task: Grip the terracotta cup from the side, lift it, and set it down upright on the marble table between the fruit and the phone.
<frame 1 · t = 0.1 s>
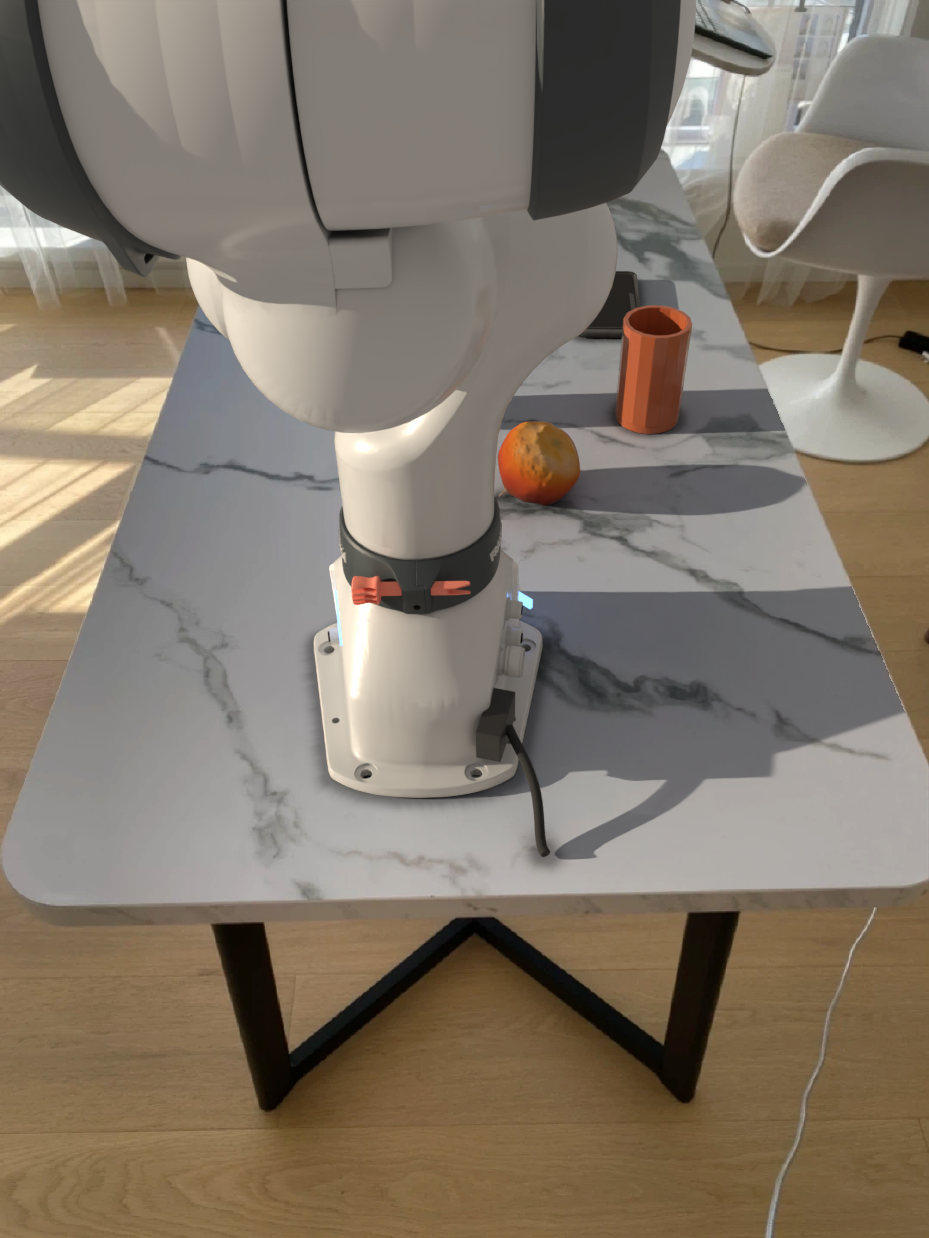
hand: (414, 48, 76), 39 cm above the table, tool pointing down, fingers open, 8 cm apart
phone: (607, 308, 128), on the table
fruit: (538, 494, 102), on the table
cup: (646, 416, 111), on the table
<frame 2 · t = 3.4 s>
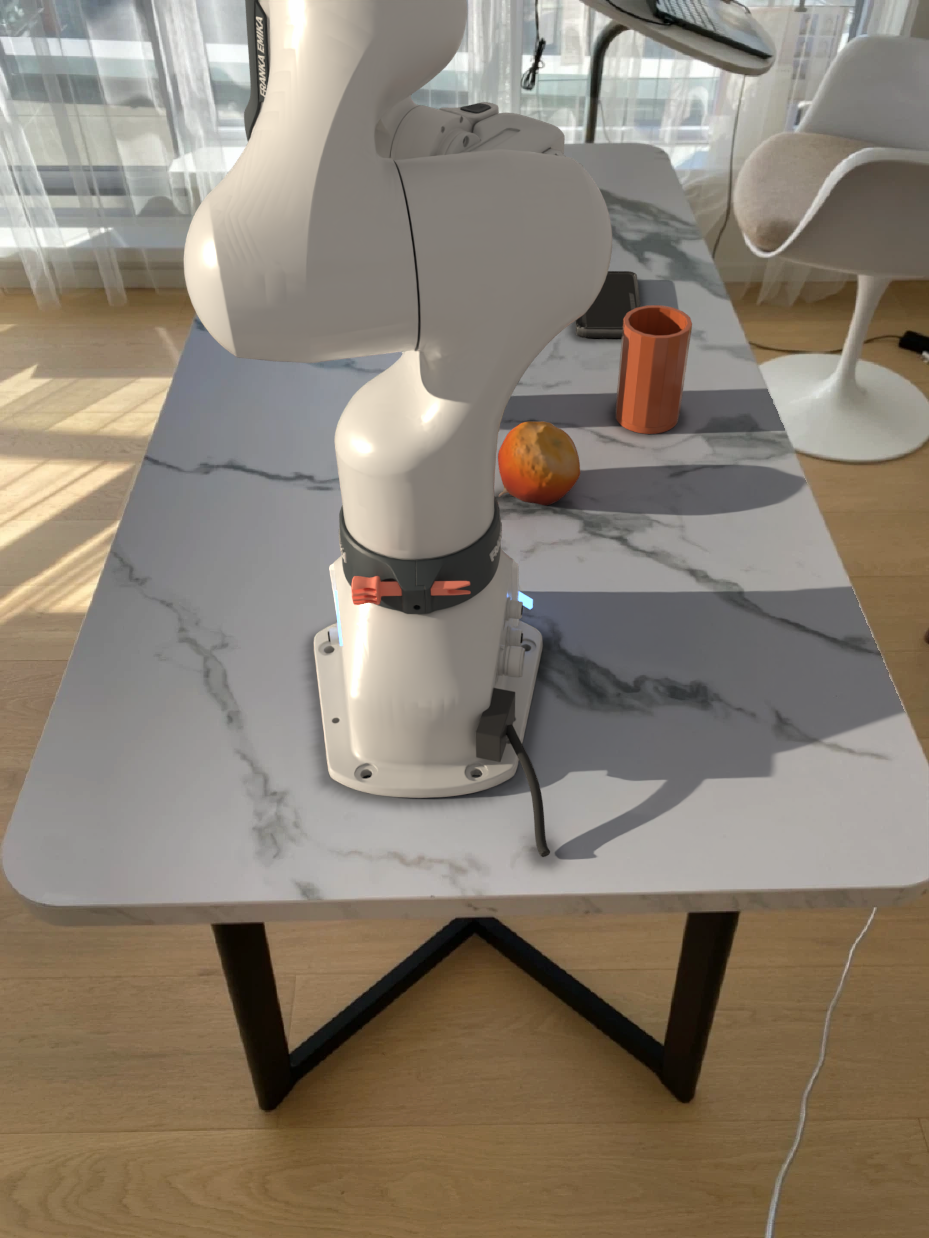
hand: (554, 193, 101), 21 cm above the table, tool horizontal, fingers open, 8 cm apart
nothing on the table moved.
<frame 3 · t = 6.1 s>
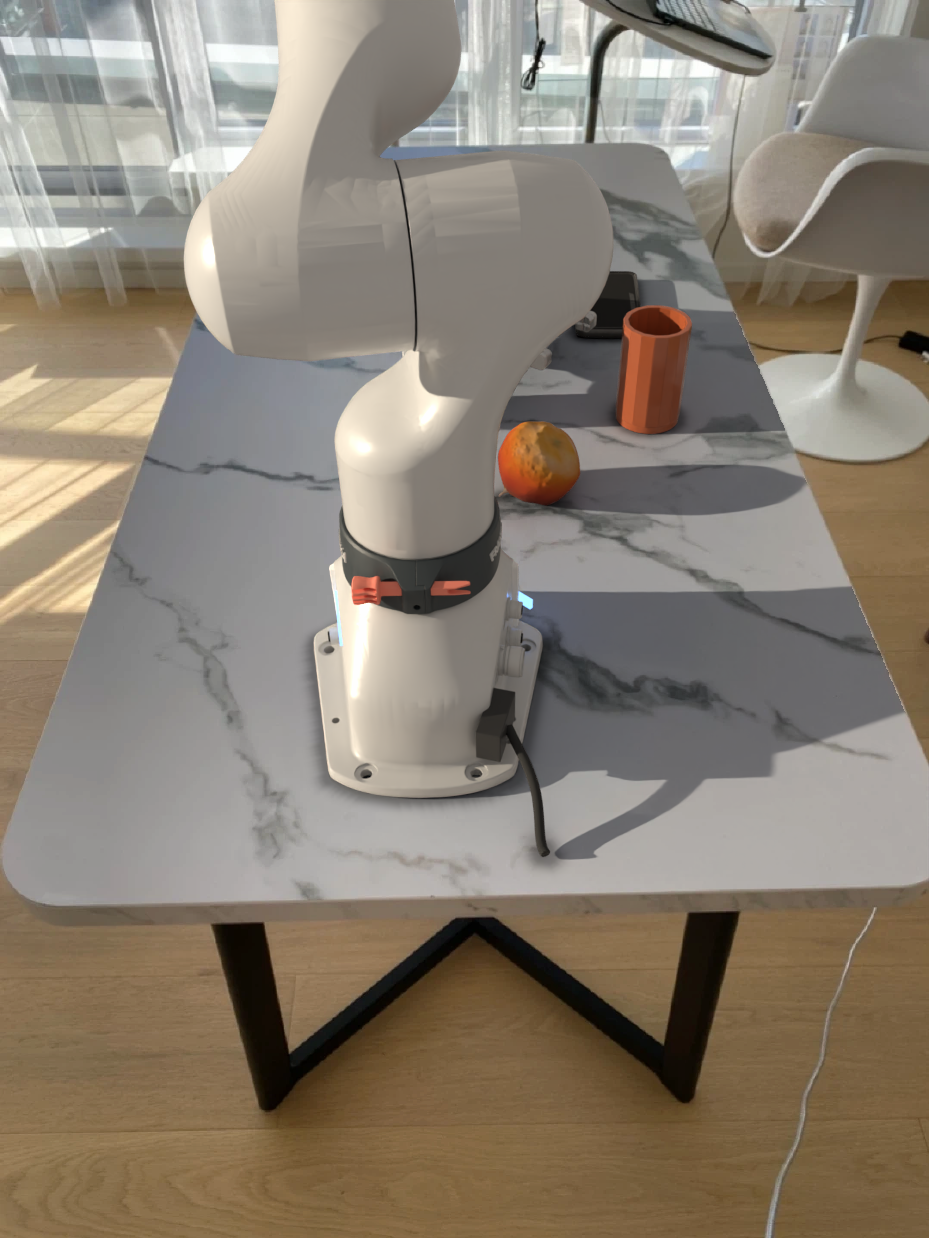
hand: (571, 341, 110), 6 cm above the table, tool horizontal, fingers open, 8 cm apart
nothing on the table moved.
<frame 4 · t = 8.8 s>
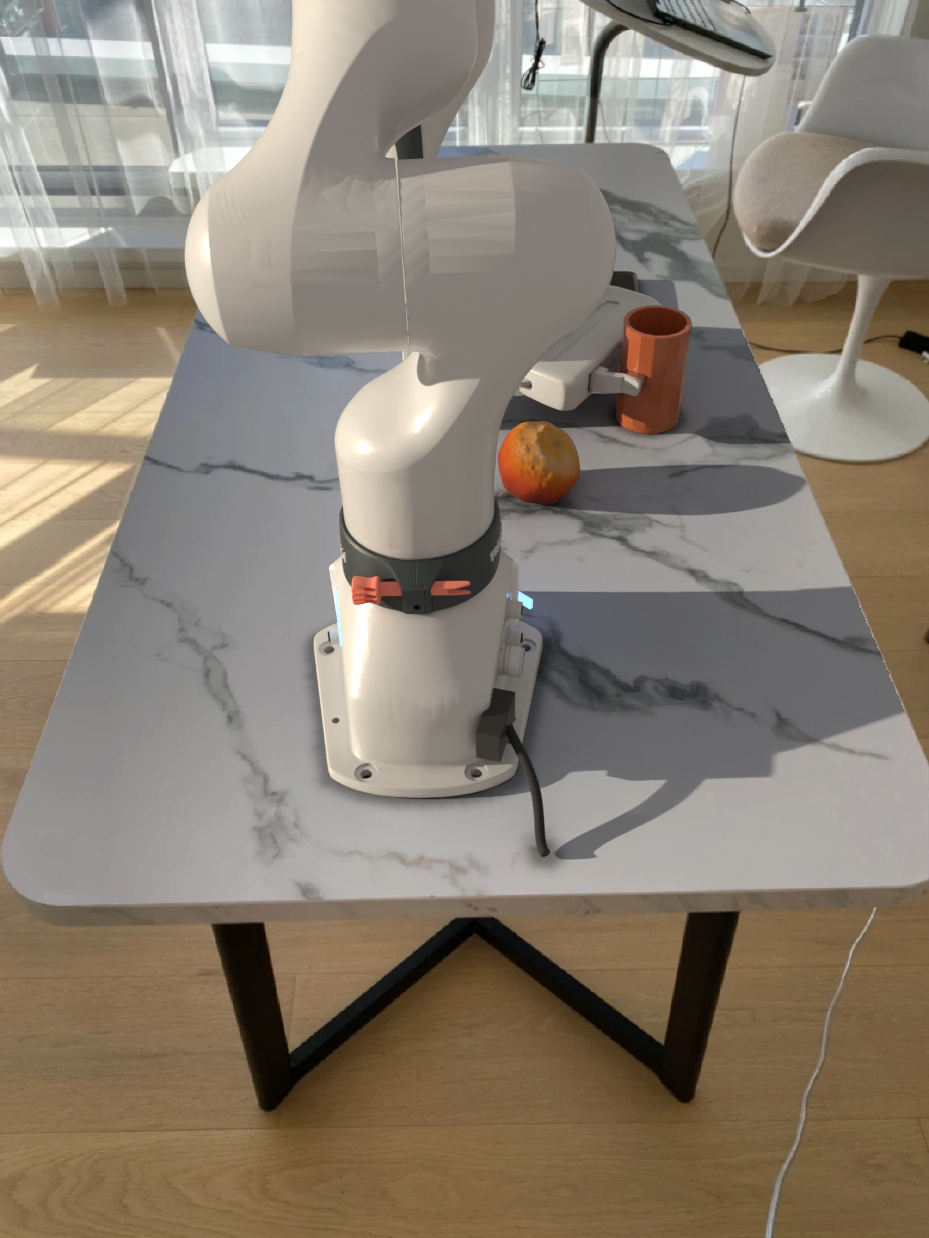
hand: (660, 368, 106), 6 cm above the table, tool horizontal, fingers closed on cup, 7 cm apart
cup: (646, 416, 111), on the table, touching gripper
everything else where it was.
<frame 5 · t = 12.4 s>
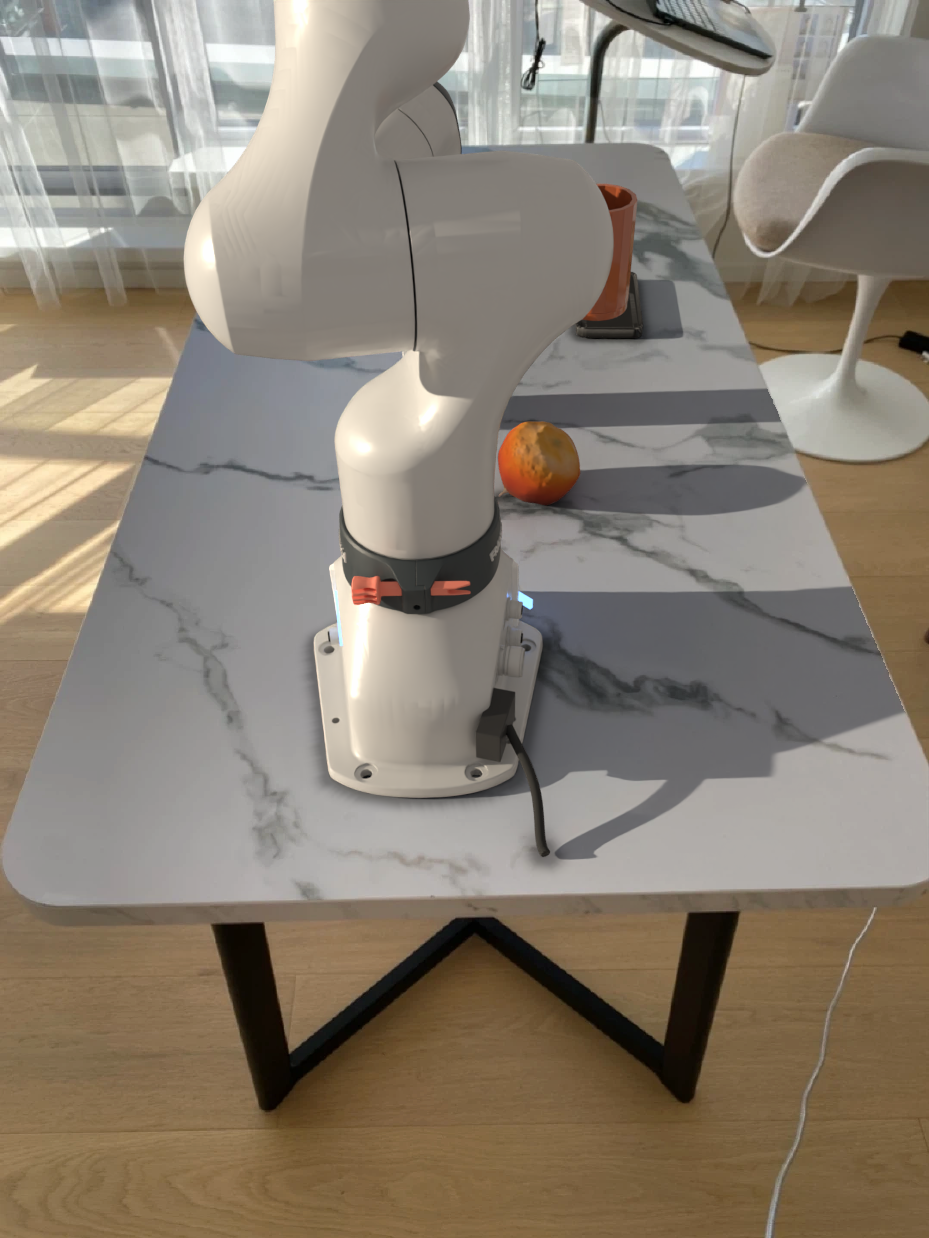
hand: (606, 250, 102), 17 cm above the table, tool horizontal, fingers closed on cup, 7 cm apart
cup: (594, 305, 107), point 11 cm above the table, touching gripper
everything else where it was.
when the fingers open (6 cm above the table, at t = 16.0 s): cup stays where it is, on the table.
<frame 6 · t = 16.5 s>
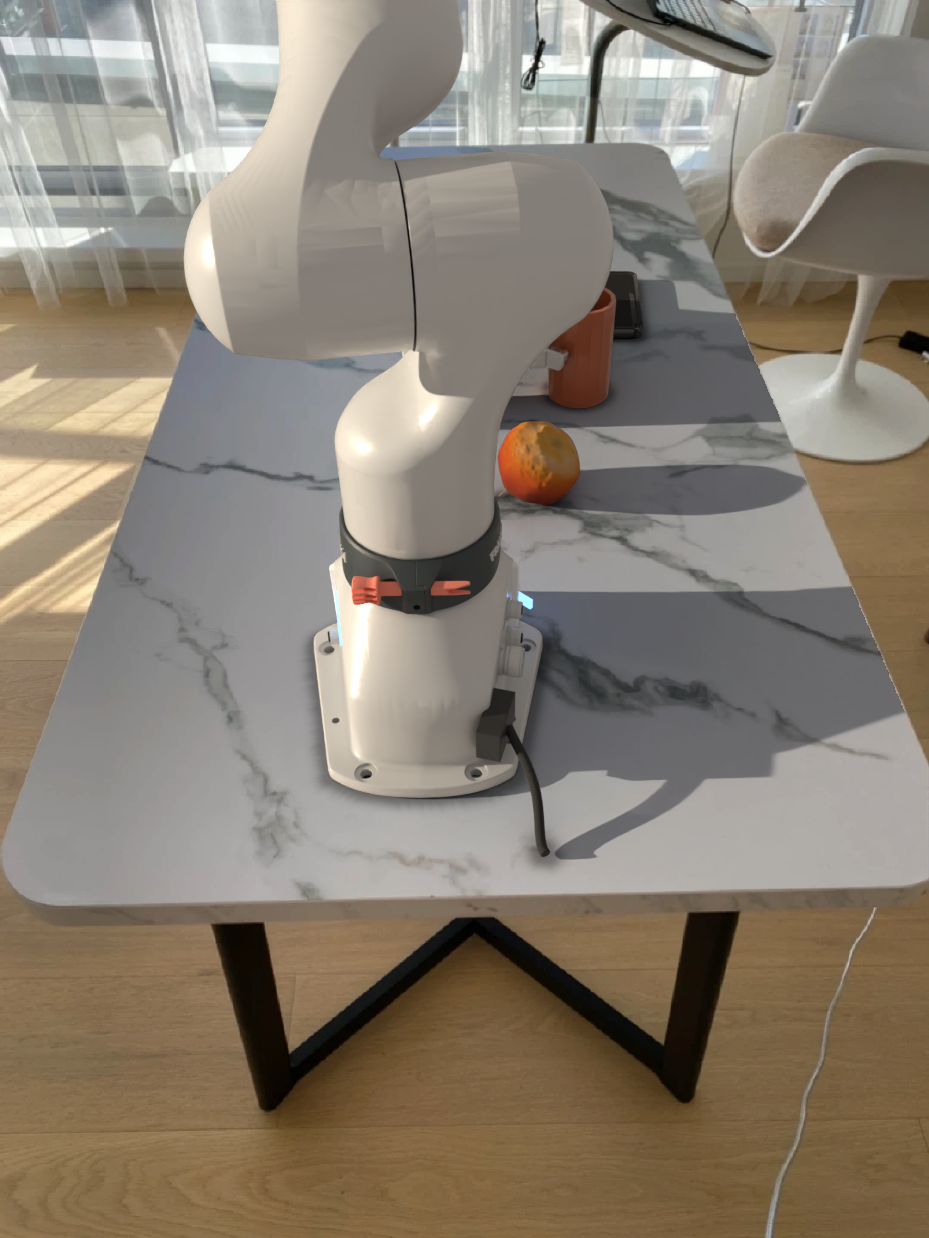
hand: (587, 341, 110), 6 cm above the table, tool horizontal, fingers open, 8 cm apart
cup: (577, 392, 114), on the table
everything else where it was.
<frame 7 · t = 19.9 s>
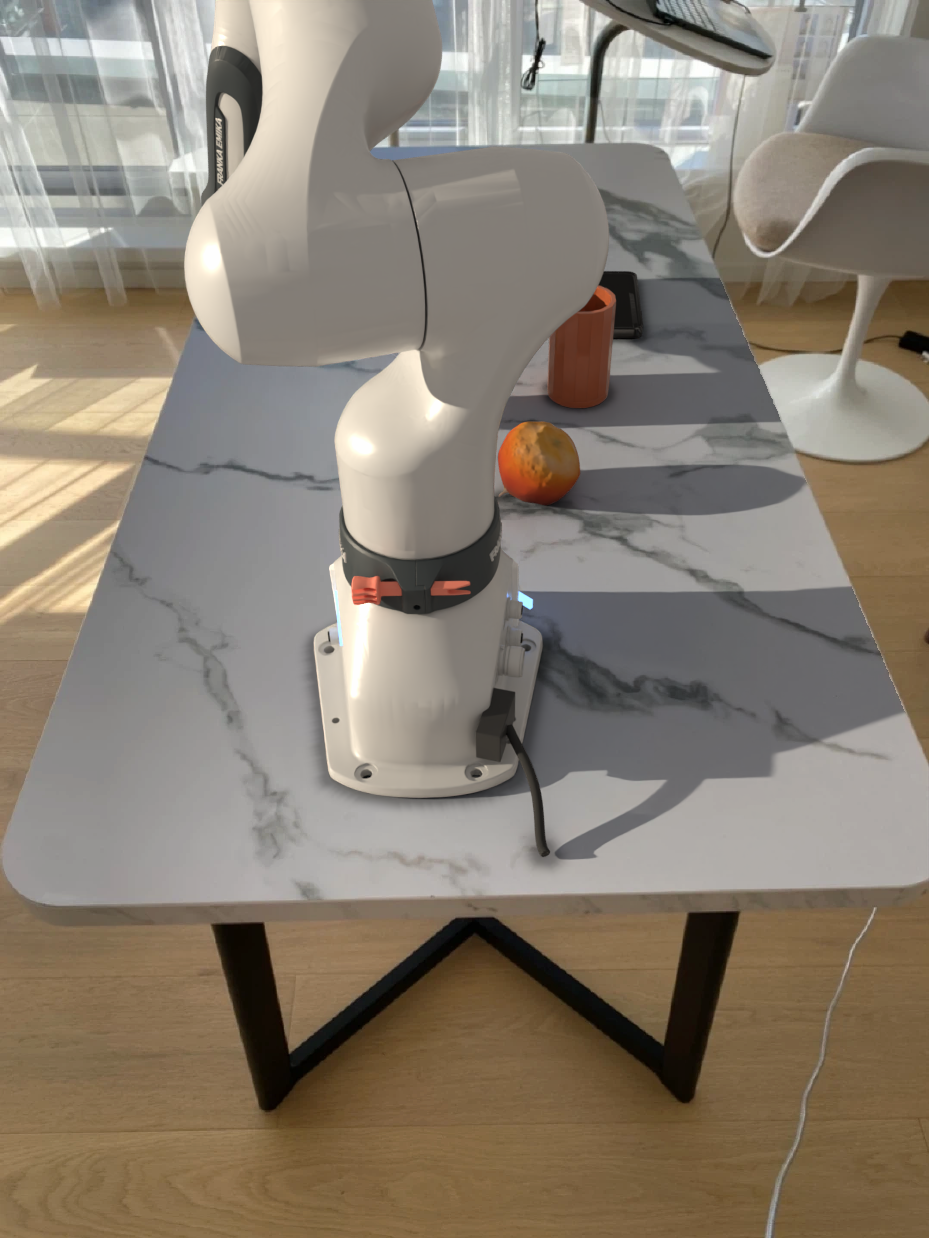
hand: (484, 263, 111), 12 cm above the table, tool horizontal, fingers open, 8 cm apart
nothing on the table moved.
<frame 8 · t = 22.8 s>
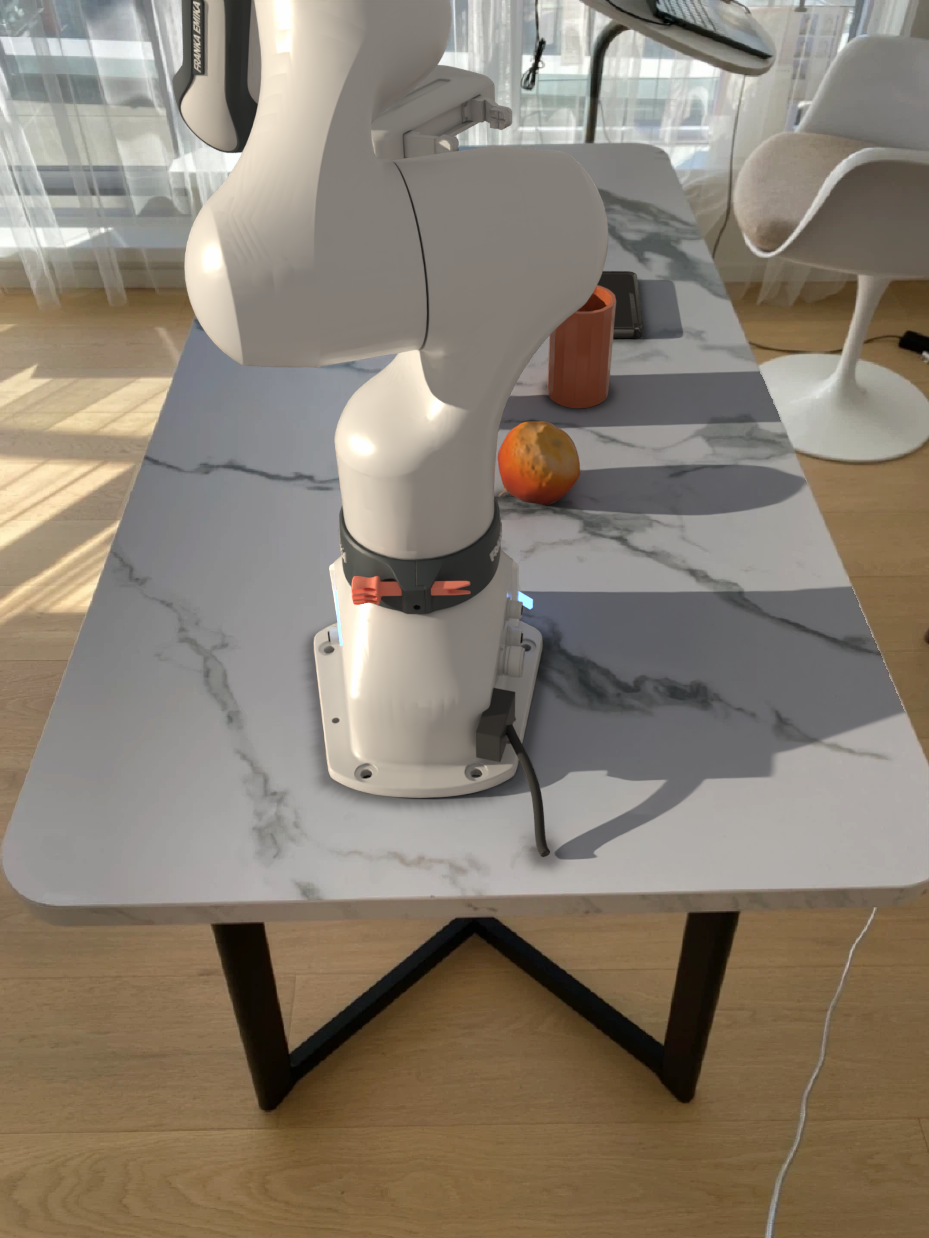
hand: (482, 134, 102), 25 cm above the table, tool horizontal, fingers open, 8 cm apart
nothing on the table moved.
at the end: cup inside the target area on the table beside the fruit (0.9 cm from its centre), on the table; cup 19.6 cm from the phone (horizontally); cup tilted 0° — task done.
